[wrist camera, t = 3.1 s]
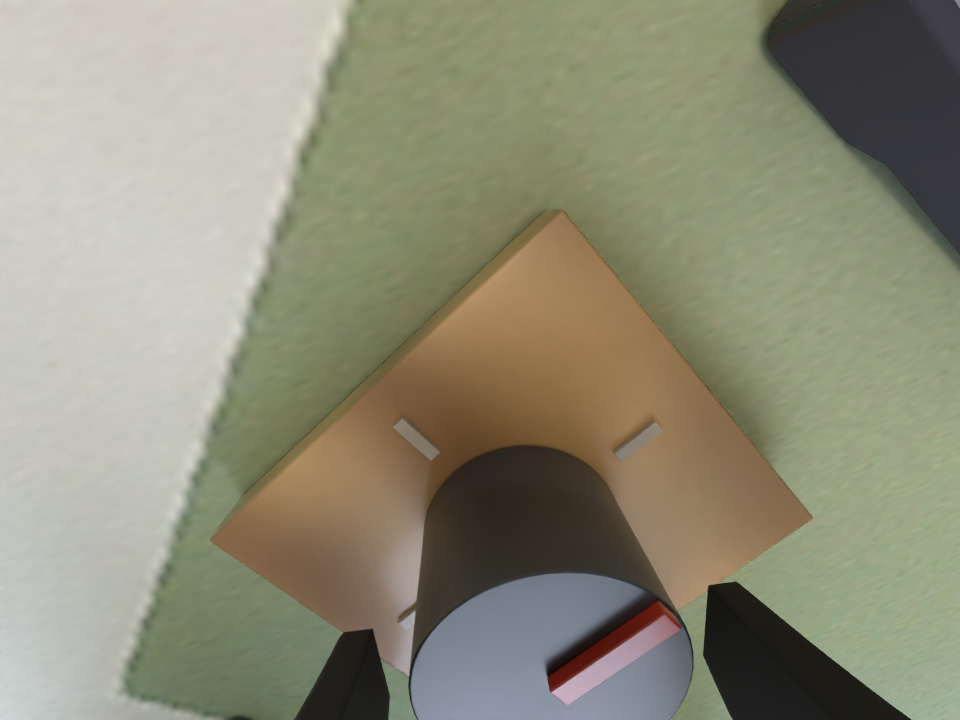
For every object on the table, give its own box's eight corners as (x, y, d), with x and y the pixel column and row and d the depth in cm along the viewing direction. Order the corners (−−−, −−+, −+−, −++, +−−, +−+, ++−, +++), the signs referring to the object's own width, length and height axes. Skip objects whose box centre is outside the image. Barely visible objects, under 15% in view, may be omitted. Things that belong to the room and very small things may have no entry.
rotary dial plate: (490, 679, 18) (494, 742, 15) (240, 497, 14) (204, 545, 12) (770, 480, 15) (819, 522, 13) (545, 208, 12) (564, 208, 10)
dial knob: (513, 634, 14) (539, 829, 10) (382, 531, 13) (342, 707, 8) (655, 530, 13) (758, 695, 9) (531, 405, 12) (579, 526, 7)
